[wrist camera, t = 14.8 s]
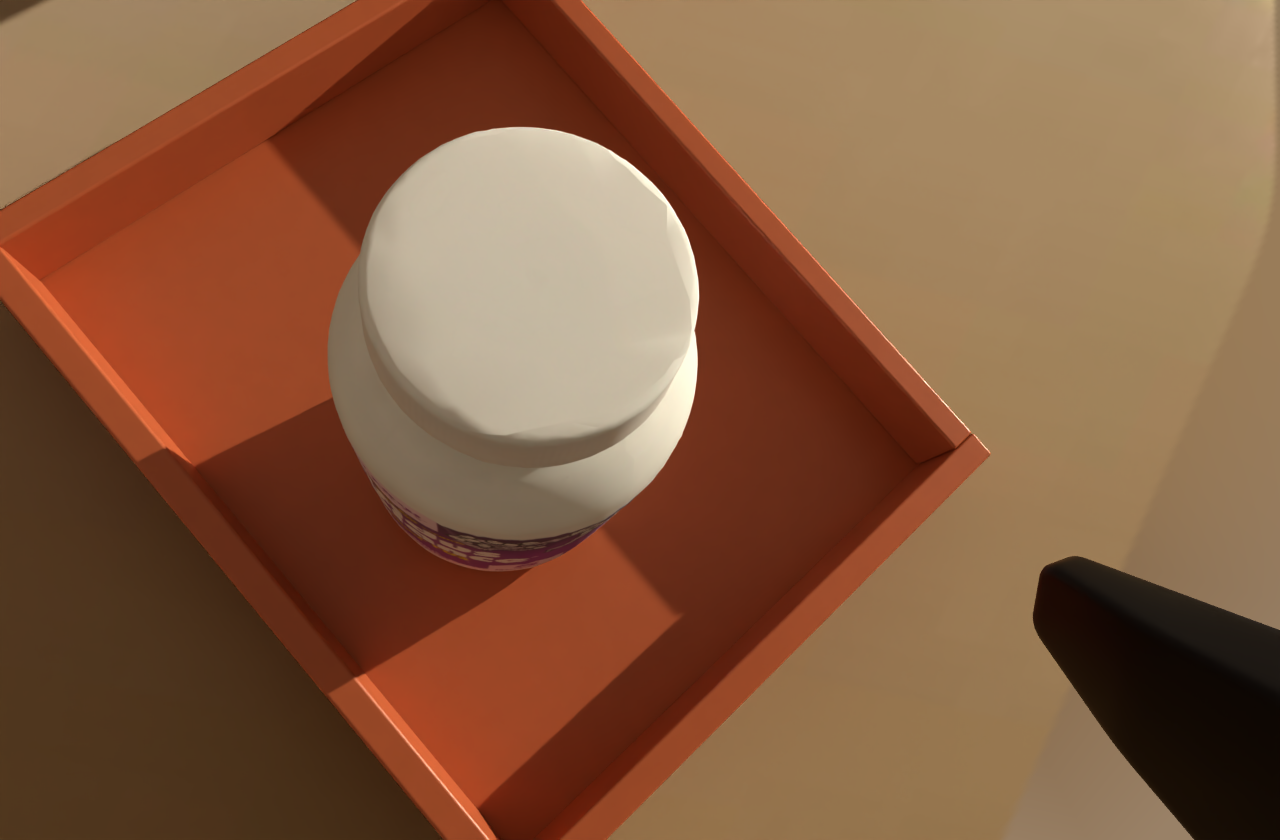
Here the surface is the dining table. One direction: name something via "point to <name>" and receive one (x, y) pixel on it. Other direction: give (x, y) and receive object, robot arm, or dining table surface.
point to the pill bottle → (515, 344)
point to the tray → (340, 489)
